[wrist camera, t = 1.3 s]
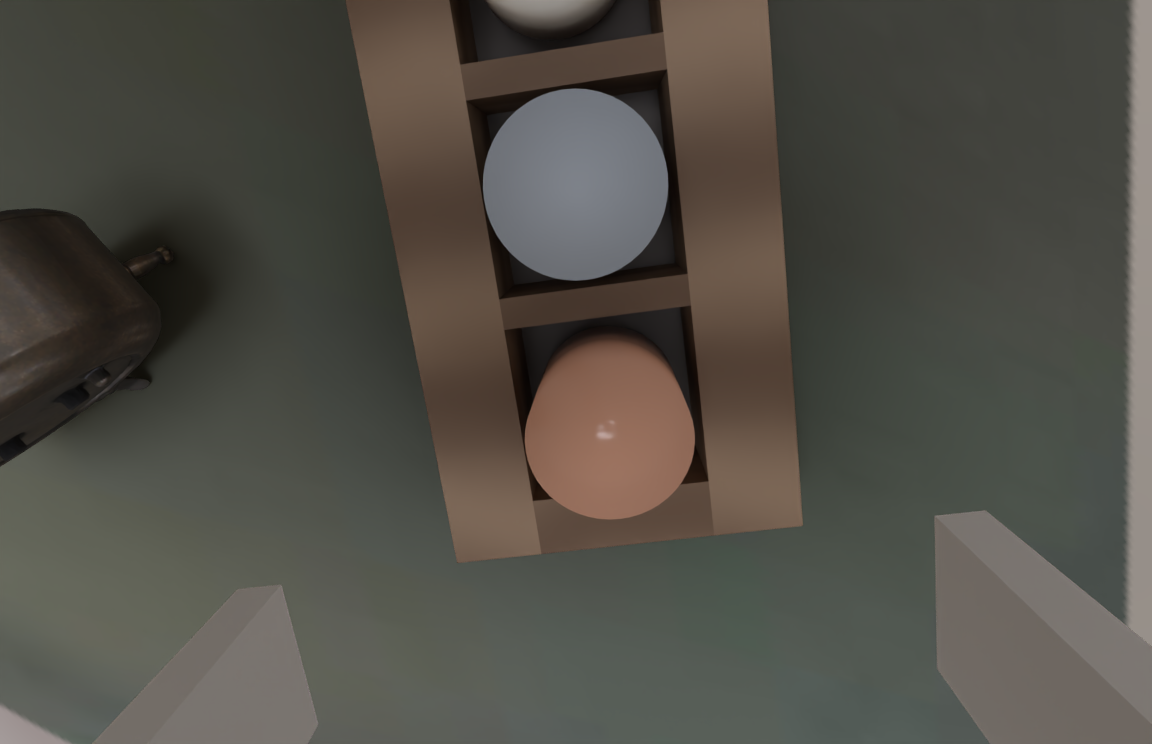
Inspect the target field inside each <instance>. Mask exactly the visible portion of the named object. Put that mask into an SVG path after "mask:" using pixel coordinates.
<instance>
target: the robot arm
mask: <svg viewBox="0 0 1152 744" xmlns="http://www.w3.org/2000/svg"><path fill="white" fill-rule="evenodd" d="M935 566H936V627H937V669H938V671H939V672H940V673H941V675H942V676H943V678H944V679H945V680H946V682H947V683H948V685H949V686H950V688H951V689H952V690H953V692H954V693H955V695H956V696H957V697H958V699H959V700H960V702H961V703H962V705H963V706H964V707H965V709H966V710H967V712H968V713H969V714H970V716H971V717H972V719H973V720H974V721H975V723H976V724H977V726H978V727H979V729H980V730H981V731H982V733H983V734H984V736H985V737H986V738H987V740H988V741H989V743H990V744H1152V646H1151V645H1149V644H1148V643H1147V642H1146V641H1144V640H1143V639H1142V638H1141V637H1139V636H1138V635H1137V634H1136V633H1135V632H1133V631H1132V630H1131V629H1130V628H1129V627H1127V626H1126V625H1125V624H1124V623H1122V622H1121V621H1120V620H1119V619H1118V618H1116V617H1115V616H1114V615H1113V614H1111V613H1110V612H1109V611H1108V610H1107V609H1105V608H1104V607H1103V606H1102V605H1100V604H1099V603H1098V602H1097V601H1096V600H1094V599H1093V598H1092V597H1091V596H1089V595H1088V594H1087V593H1086V592H1085V591H1083V590H1082V589H1081V588H1080V587H1078V586H1077V585H1076V584H1075V583H1074V582H1072V581H1071V580H1070V579H1069V578H1067V577H1066V576H1065V575H1064V574H1063V573H1061V572H1060V571H1059V570H1058V569H1056V568H1055V567H1054V566H1053V565H1052V564H1050V563H1049V562H1048V561H1047V560H1045V559H1044V558H1043V557H1042V556H1041V555H1039V554H1038V553H1037V552H1036V551H1034V550H1033V549H1032V548H1031V547H1030V546H1028V545H1027V544H1026V543H1025V542H1023V541H1022V540H1021V539H1020V538H1019V537H1017V536H1016V535H1015V534H1014V533H1012V532H1011V531H1010V530H1009V529H1008V528H1006V527H1005V526H1004V525H1003V524H1001V523H1000V522H999V521H998V520H997V519H995V518H994V517H993V516H992V515H990V514H989V513H988V512H987V511H986V510H985V511H976V512H966V513H957V514H947V515H938V516H935ZM317 726H318V721H317V717H316V714H315V710H314V706H313V702H312V698H311V695H310V691H309V687H308V683H307V680H306V676H305V672H304V668H303V664H302V661H301V657H300V653H299V649H298V646H297V642H296V638H295V634H294V631H293V627H292V623H291V619H290V615H289V612H288V608H287V604H286V600H285V597H284V593H283V589H282V585H272V586H263V587H253V588H244V589H237V590H236V591H235V592H234V593H233V594H232V595H231V596H230V597H229V599H228V600H227V601H226V602H225V603H224V604H223V605H222V606H221V607H220V608H219V609H218V610H217V611H216V612H215V613H214V615H213V616H212V617H211V618H210V619H209V620H208V621H207V622H206V623H205V624H204V625H203V626H202V627H201V628H200V629H199V630H198V632H197V633H196V634H195V635H194V636H193V637H192V638H191V639H190V640H189V641H188V642H187V643H186V644H185V645H184V646H183V647H182V649H181V650H180V651H179V652H178V653H177V654H176V655H175V656H174V657H173V658H172V659H171V660H170V661H169V662H168V663H167V664H166V666H165V667H164V668H163V669H162V670H161V671H160V672H159V673H158V674H157V675H156V676H155V677H154V678H153V679H152V680H151V681H150V683H149V684H148V685H147V686H146V687H145V688H144V689H143V690H142V691H141V692H140V693H139V694H138V695H137V696H136V697H135V699H134V700H133V701H132V702H131V703H130V704H129V705H128V706H127V707H126V708H125V709H124V710H123V711H122V712H121V713H120V714H119V716H118V717H117V718H116V719H115V720H114V721H113V722H112V723H111V724H110V725H109V726H108V727H107V728H106V729H105V730H104V731H103V733H102V734H101V735H100V736H99V737H98V738H97V739H96V740H95V741H94V742H93V743H92V744H308V742H309V741H310V739H311V737H312V735H313V733H314V731H315V730H316V728H317Z"/></svg>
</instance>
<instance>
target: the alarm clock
mask: <svg viewBox="0 0 1152 744" xmlns="http://www.w3.org/2000/svg"><path fill="white" fill-rule="evenodd" d="M173 259H174V253H173V251H172V250H170V249H169V248H168V247H167V246H160V247H158V248H157V249H156V250H155V251H154V252H153V253H149V254H145V255H141V256H137V257H135V258H133V259H131V260H129V261H127V262H125V263H123V264H121V263H120V262H119V261H118V260H117V259H116V258H115V256H114V255H113V254H112V253H111V252H110V251H109V250H108V249H107V248H106V247H105V245H104V244H103V243H102V242H101V241H100V240H99V239H98V238H97V237H96V235H95V234H94V233H93V232H92V231H91V230H90V229H89V228H88V227H87V225H86V224H85V222H84V221H82V220H81V219H80V218H79V217H77V216H75V215H73V214H70V213H67V212H63V211H57V210H50V209H21V210H19V209H17V210H6V211H1V212H0V466H2V465H4V464H5V463H7V462H8V461H10V460H12V459H13V458H15V457H16V456H18V455H20V454H21V453H23V452H24V451H26V450H27V449H29V448H30V447H32V446H33V445H35V444H36V443H38V442H39V441H41V440H42V439H44V438H45V437H47V436H48V435H50V434H51V433H53V432H54V431H56V430H57V429H58V428H60V427H61V426H63V425H64V424H66V423H67V422H69V421H70V420H71V419H73V418H74V417H76V416H77V415H78V414H80V413H81V412H82V411H84V410H85V409H87V408H88V407H89V406H91V405H92V404H93V403H94V402H97V401H99V400H101V399H103V398H104V397H105V396H107V395H108V394H111V393H113V392H114V391H115V390H121V389H128V390H141V389H144V388H146V387H147V386H148V385H149V381H148V380H146V379H140V378H134V377H129V376H128V375H129V374H130V373H131V372H132V371H133V370H134V369H135V368H136V367H138V366H139V365H140V364H141V362H142V361H143V360H144V359H145V358H146V356H147V355H148V354H149V353H150V351H151V350H152V348H153V347H154V345H155V343H156V341H157V339H158V337H159V335H160V331H161V326H162V324H161V315H160V309H159V306H158V304H157V303H156V302H155V301H154V300H153V299H152V298H151V296H150V295H149V294H148V293H147V292H146V291H145V290H144V289H143V287H142V286H141V285H140V284H139V283H138V282H137V281H136V280H137V279H139V278H141V277H143V276H144V275H146V274H147V273H148V272H150V271H151V270H152V269H153V268H154V267H156V266H157V265H158V264H159V263H162V264H167V263H169V262H171V261H172V260H173Z"/></svg>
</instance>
